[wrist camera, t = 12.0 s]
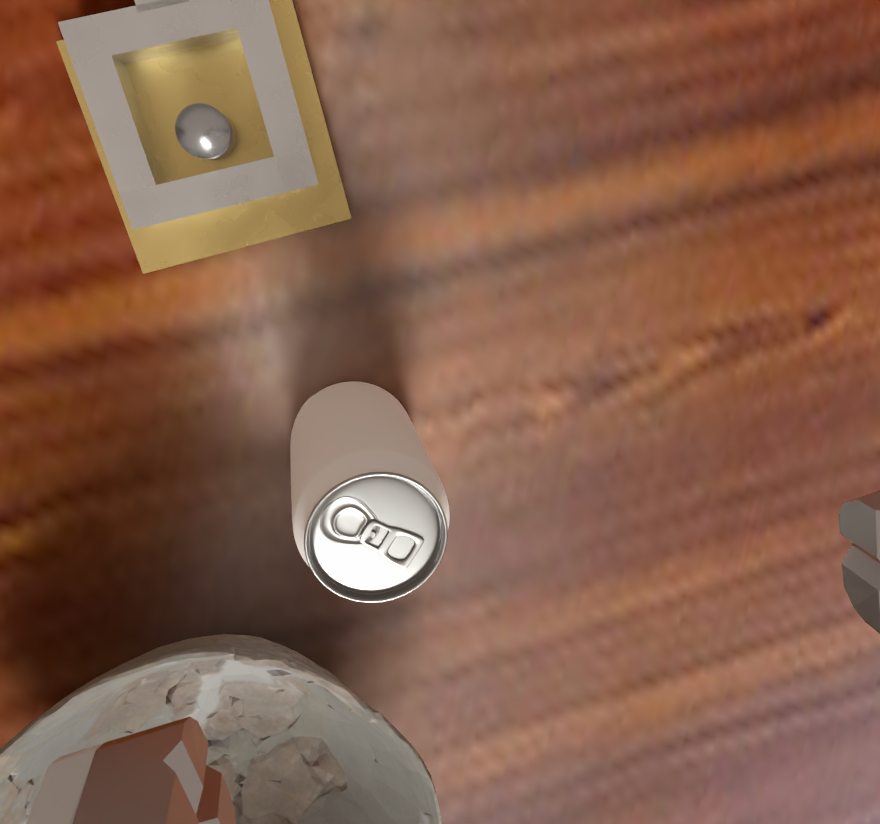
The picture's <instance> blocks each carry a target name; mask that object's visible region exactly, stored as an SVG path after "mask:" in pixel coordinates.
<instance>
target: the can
mask: <svg viewBox="0 0 880 824" xmlns="http://www.w3.org/2000/svg"><path fill="white" fill-rule="evenodd" d="M290 459H291V504H292V524H293V533H294V538H295V541H296V545H297V548H298V550H299V552H300V554H301V556H302V558H303V559H304V561H305V562H306V564H307V565H308V566H309V567H310V569H311V571H312V572H313V574H314V575H315V577H316V578H317V579H318V581H319V582H320V583H321V584H322V585H323V586H325V587H326V588H327V589H328V590H330V591H331V592H333V593H334V594H336V595H338V596H340V597H343V598H345V599H348V600H352V601H356V602H363V603H378V602H385V601H390V600H394V599H397V598H400V597H402V596H404V595H406V594H408V593H410V592H412V591H414V590H415V589H417V588H418V587H419V586H421V585H422V584H423V583H424V582H425V581H426V580H427V579H428V578H429V577H430V576H431V575H432V574H433V573H434V571H435V570H436V569H437V567H438V565H439V564H440V562H441V560H442V558H443V555H444V552H445V549H446V545H447V538H448V527H449V505H448V500H447V496H446V493H445V490H444V487H443V485H442V483H441V480H440V478H439V476H438V474H437V472H436V470H435V468H434V466H433V464H432V462H431V459H430V457H429V455H428V453H427V451H426V449H425V447H424V445H423V443H422V441H421V439H420V437H419V435H418V433H417V431H416V429H415V427H414V425H413V424H412V422H411V420H410V418H409V416H408V414H407V412H406V411H405V409H404V407H403V406H402V405H401V403H400V402H399V401H398V400H397V399H396V398H395V397H394V396H393V395H392V394H390V393H389V392H387V391H386V390H384V389H382V388H380V387H378V386H376V385H373V384H370V383H365V382H356V381H350V382H342V383H337V384H334V385H331V386H328V387H326V388H324V389H322V390H320V391H319V392H317V393H316V394H314V395H313V396H311V397H310V398H309V399H308V400H307V401H306V402H305V403H304V405H303V406H302V407H301V409H300V411H299V412H298V415H297V417H296V419H295V422H294V425H293V428H292V433H291V443H290Z"/></svg>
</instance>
